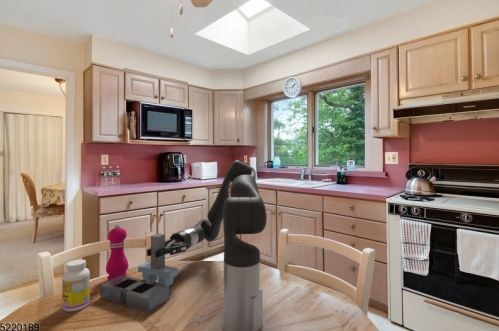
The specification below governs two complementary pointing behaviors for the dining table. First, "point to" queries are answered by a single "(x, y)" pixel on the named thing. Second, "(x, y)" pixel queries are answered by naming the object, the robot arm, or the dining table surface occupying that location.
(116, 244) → the pepper mill
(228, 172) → the robot arm
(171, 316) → the dining table surface
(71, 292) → the supplement bottle
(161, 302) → the dark grey rectangular block
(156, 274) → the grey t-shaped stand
